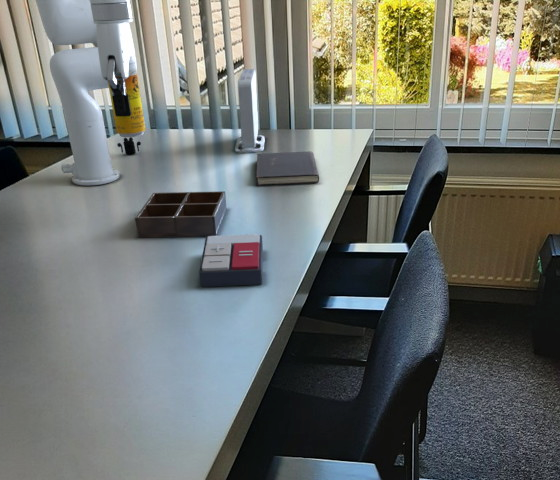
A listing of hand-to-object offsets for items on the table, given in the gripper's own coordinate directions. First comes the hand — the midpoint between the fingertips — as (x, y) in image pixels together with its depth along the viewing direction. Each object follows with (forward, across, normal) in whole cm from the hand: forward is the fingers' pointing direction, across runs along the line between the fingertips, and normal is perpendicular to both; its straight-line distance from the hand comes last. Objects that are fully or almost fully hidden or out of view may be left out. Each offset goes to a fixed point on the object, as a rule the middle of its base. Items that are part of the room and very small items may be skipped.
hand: (128, 111), depth 130 cm
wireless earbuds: (+23, -55, -19) cm, 62 cm away
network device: (+23, -65, +17) cm, 71 cm away
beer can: (+5, 0, 0) cm, 5 cm away
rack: (+23, +4, +10) cm, 25 cm away
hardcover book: (+23, -34, +30) cm, 51 cm away
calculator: (+23, +29, +25) cm, 45 cm away
